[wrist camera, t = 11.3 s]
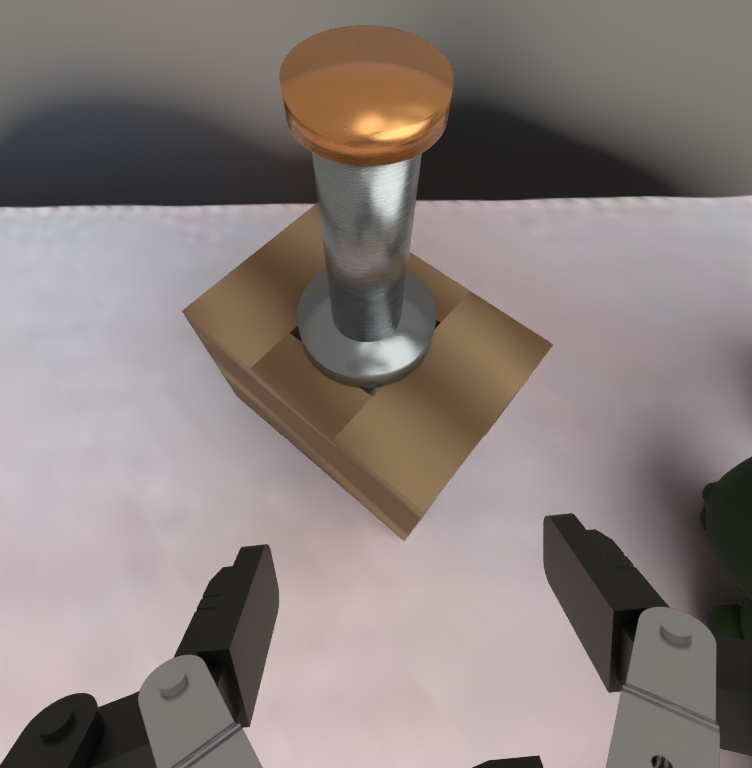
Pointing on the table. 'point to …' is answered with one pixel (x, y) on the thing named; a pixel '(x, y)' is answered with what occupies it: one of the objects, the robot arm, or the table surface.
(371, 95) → the pin
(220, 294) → the wooden block with hole
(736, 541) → the toy figurine
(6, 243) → the table surface
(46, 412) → the table surface
